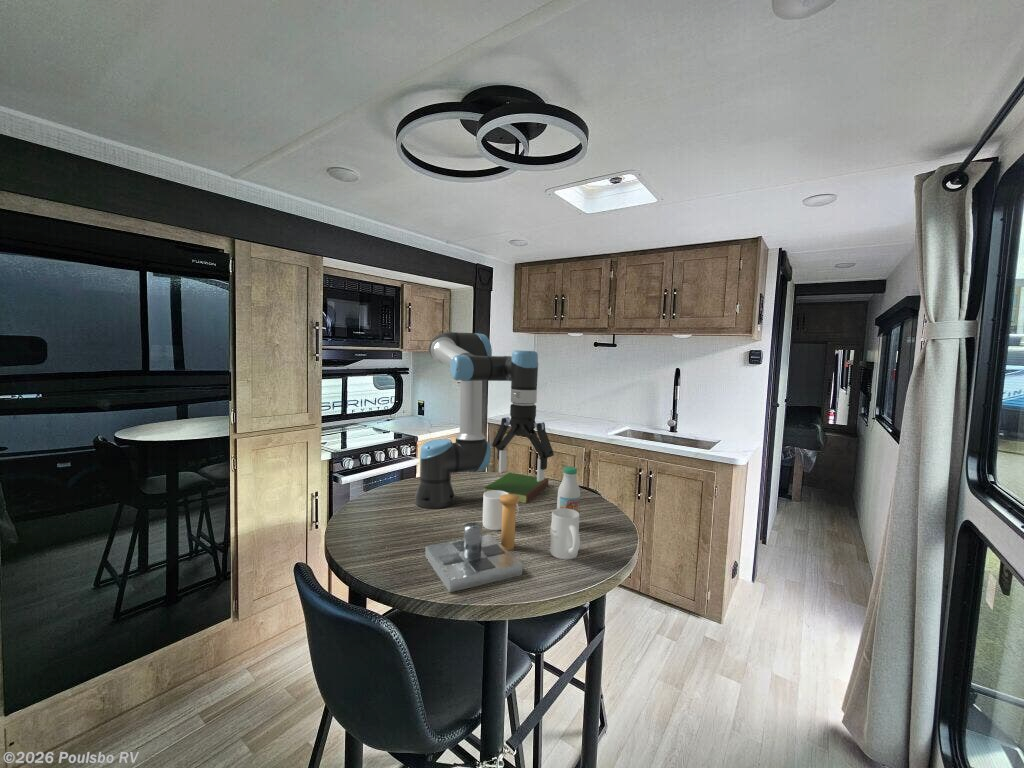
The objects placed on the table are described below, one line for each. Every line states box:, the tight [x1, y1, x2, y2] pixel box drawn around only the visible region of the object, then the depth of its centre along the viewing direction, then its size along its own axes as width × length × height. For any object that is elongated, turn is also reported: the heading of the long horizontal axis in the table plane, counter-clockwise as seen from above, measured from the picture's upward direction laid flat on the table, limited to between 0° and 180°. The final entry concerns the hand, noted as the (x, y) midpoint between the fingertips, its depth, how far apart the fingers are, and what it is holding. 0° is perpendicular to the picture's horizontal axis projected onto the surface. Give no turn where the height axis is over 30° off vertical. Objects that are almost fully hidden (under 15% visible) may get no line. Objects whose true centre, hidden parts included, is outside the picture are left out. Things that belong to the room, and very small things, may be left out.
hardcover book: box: [483, 472, 549, 504], centre depth 183 cm, size 25×19×4 cm
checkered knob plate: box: [424, 522, 523, 593], centre depth 118 cm, size 20×20×11 cm
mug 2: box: [549, 508, 581, 560], centre depth 125 cm, size 8×12×12 cm
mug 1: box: [482, 490, 520, 531], centre depth 145 cm, size 9×12×11 cm
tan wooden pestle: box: [500, 494, 520, 551], centre depth 129 cm, size 6×6×15 cm
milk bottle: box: [556, 465, 581, 519], centre depth 147 cm, size 8×8×20 cm
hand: (520, 475), depth 128 cm, fingers open, 13 cm apart
